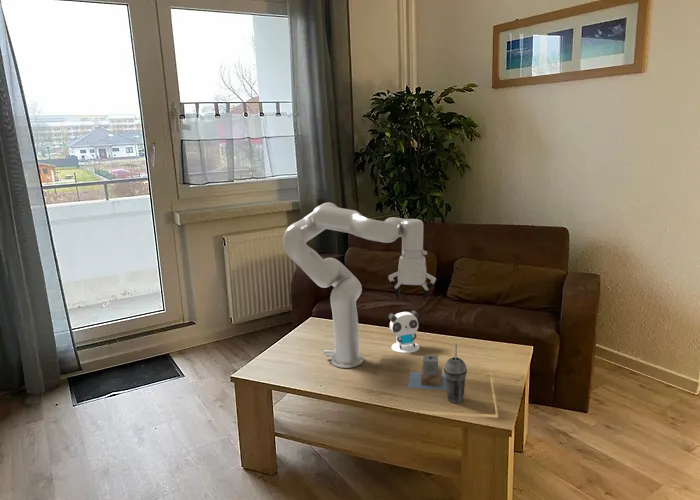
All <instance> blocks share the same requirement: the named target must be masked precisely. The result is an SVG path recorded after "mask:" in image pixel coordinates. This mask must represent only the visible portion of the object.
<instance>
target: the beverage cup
mask: <svg viewBox="0 0 700 500" xmlns="http://www.w3.org/2000/svg"><path fill="white" fill-rule="evenodd" d="M454 347H455V348H454V357H450V358H449V359H448V360H447V361H445V364H444V369H443V370H444V373H445V376H446V384H447V390H446V392H447V394H446V395H447V401H448V402H450V403H451V404H457V405H458V404H461V403H463V401H464V395H465V385H466V377H467V373H468V370H467V365H466V363H465V362H464V360H463V359H462V358H460V357H458V344H457V343H455V346H454Z"/></svg>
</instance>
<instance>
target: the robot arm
mask: <svg viewBox="0 0 700 500" xmlns="http://www.w3.org/2000/svg"><path fill="white" fill-rule="evenodd" d="M325 230H331V231H337V232H341V233H348V234H351V235H353V236H355V237H359V238H362V239H365V240H368V241H373V242H380V243H386V244H387V243H393V242H395V241H396V240H397V239H398V238H401V255H400V256H399V260H398V267H397V269H398V270H397V271H396V272H393V273H391V274H389V275H388V277H387V279H388V280H389V282H390V284H391V286H393V287H394V289H395V290H394V291H395V297H396V300H399V299H401V287H400V286H401V285H405V286H406V285H408V286H409V285H410V286H411V285H412V286H421V287H422V288H423V302H426V299H428V298H429V290H430V289H431V288H433V286H434V284H435V282H436V281H437V278H436V277H435V276H433V275H431V274H430V273H428V272H427V262H426V257H425V255H428V251H427V250H424V222H423V221H422V220H421V219H418V218H408V219H407V218H401V217H394V216H393V217H392V216H391V217H388V218H386V219H384V220H378V219H377V220H376V219H373V218H369V217H366V216H364V215H362V214H361V213H360V212H359V211H357V210H355V209H349V208H343V207H342V208H341V207H339V206H337V205H336V204H334V203H332V202H323V203H322V204H320V205H317V206H316V207H315V208H314V209H313V210H312V212H310V213H309V214H307V215H306V216H304V217H303V218H301V219H300V220H298V221H295V222H293V223H291V224H290V225H289V226H288V227H287V229H285V232H284V234H283V238H282V245H283V249H284V251H285V254H286V255H287V256H288V258H289V259H291V261H293V263H295V264H296V265H297V266H298V267H299V268H300V269H301V270H302V271H303V272H304V273H305V274H306V275H307V276H308V277H309V279H310V280H312V282H314V284H316V285H317V286H318V287H320V288H322V289H323V288H324V289H326V288H329V287H331V286H332V287H333V289H332V290H331V292H330V297H329V301H330V302H329V303H330V308H331V313H332V315H331V316H332V326H333V342H334V343H333V345H334V349H332V350H331V349H324V351H323V353H324V356H325V358H330V359H331V360H330V361H331V364H332V365H333V366H335V367H337V368H342V369H352V368H355V367H358V366H360V365H362V364H363V363H364V360H365V359H364V356H363V354H361V353H360V339H359V336H360V335H359V318H358V316H359V315H358V310H357V300H358V298H359V297H361V294H362V291H363V288H362V287H363V286H362V284H361V282H360V280H359V279H358V278H357V277H356V276H355V274H353V273H352V272H351V271H350V270H349V269H348V268H347V267H346V266H345V265H344V264H343V263H342V262H341V261H339V260H338V259H337V258H334V257H326V258H323V257H322V256H320V254H319V253H318V252H317V251H316V250H315V249H313V248H312V247H310V246H309V245H307V242H308V241H309V242H310V241H311V240H312V239H313V238H315V237H317V236H318V235H319V234H321V233H322V232H323V231H325ZM395 277H397V282H396V281H395V279H394V278H395ZM427 279H429V280H430V282H429V283H427V282H426V281H427Z"/></svg>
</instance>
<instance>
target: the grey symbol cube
mask: <svg viewBox="0 0 700 500" xmlns="http://www.w3.org/2000/svg"><path fill="white" fill-rule="evenodd" d="M422 359H423V360H422V365H423V375H438V366H439V355H437V354H436V355H435V354H434V355H433V354H423V357H422Z"/></svg>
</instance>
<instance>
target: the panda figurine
mask: <svg viewBox="0 0 700 500" xmlns="http://www.w3.org/2000/svg"><path fill="white" fill-rule="evenodd" d="M419 316H420V314H419V313H418V312H417V311H416V310H415V309H414V310H411V312H410V311H402V312H397V313H396V314H394V313H393V312H391V313H389V315H388V319H389V320H390V322H389V329H390V331H392V333H393V334H394V335H395V339H396V340H395V341H396V342H394V343H393V344H392V345H391V350H392V351H394V352H396V353H399V354H411V353H412V354H413V353H416V352H417V351H419V350H420V345H419V344H418V343H416V341H415V340H416V339H417V334H416V333H417V331H418V329H419V321H418V318H419Z"/></svg>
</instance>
